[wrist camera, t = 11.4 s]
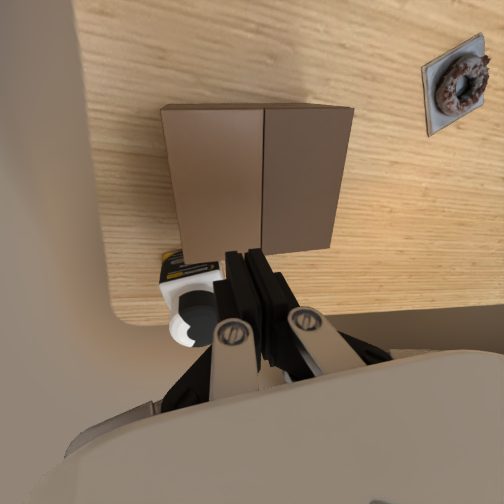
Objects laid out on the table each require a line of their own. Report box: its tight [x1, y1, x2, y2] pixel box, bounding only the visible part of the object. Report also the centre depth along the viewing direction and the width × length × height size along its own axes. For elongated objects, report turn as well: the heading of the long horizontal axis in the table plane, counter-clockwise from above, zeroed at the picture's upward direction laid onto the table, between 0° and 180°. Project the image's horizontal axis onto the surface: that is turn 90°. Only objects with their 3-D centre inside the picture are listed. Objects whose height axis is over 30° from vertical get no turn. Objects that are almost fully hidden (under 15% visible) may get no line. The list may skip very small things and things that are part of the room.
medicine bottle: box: [159, 250, 224, 347], centre depth 32 cm, size 7×7×12 cm
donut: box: [422, 32, 491, 137], centre depth 31 cm, size 8×8×2 cm
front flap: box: [161, 109, 263, 264], centre depth 22 cm, size 7×13×1 cm, turn 0°
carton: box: [160, 103, 354, 255], centre depth 27 cm, size 15×13×10 cm
